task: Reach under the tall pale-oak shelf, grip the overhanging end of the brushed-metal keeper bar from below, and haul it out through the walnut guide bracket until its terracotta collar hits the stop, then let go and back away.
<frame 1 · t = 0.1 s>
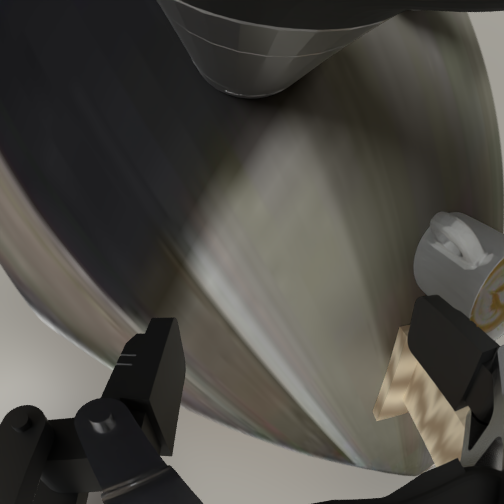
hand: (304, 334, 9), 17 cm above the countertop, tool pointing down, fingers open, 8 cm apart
coffee mug: (443, 242, 28), on the countertop
shelf stand: (416, 367, 35), on the countertop
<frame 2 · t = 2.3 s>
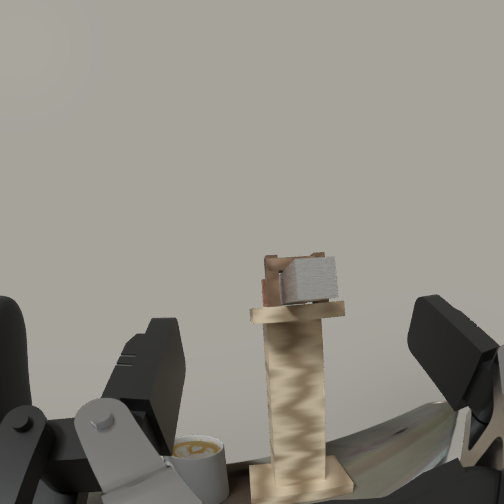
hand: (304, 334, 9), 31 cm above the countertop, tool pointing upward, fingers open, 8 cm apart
coffee mug: (191, 496, 37), on the countertop
keeper bar: (294, 286, 41), point 35 cm above the countertop, slide at 0.0 cm
shelf stand: (298, 487, 39), on the countertop
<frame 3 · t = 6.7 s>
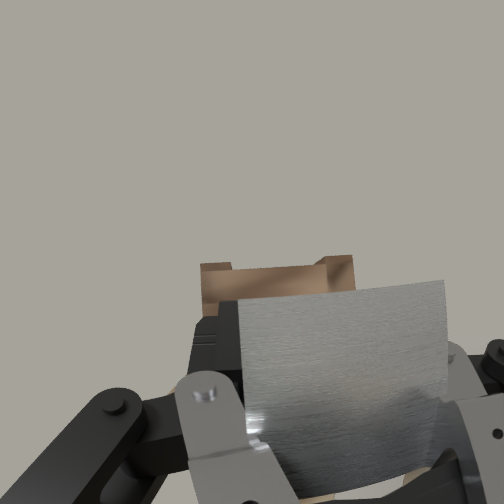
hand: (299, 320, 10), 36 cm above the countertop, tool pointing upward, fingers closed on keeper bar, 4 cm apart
keeper bar: (278, 335, 17), point 35 cm above the countertop, slide at 0.0 cm, touching gripper
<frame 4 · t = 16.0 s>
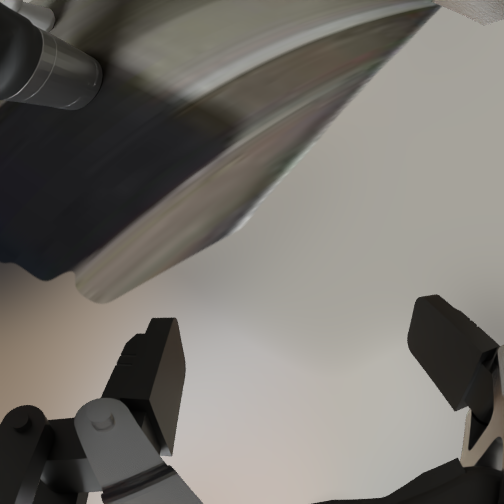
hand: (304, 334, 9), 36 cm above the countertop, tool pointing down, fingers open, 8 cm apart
salt shaker: (46, 26, 31), on the countertop
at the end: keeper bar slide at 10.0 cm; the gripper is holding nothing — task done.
